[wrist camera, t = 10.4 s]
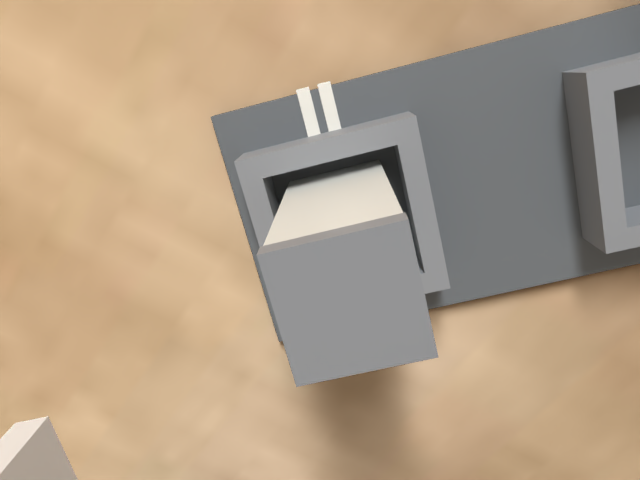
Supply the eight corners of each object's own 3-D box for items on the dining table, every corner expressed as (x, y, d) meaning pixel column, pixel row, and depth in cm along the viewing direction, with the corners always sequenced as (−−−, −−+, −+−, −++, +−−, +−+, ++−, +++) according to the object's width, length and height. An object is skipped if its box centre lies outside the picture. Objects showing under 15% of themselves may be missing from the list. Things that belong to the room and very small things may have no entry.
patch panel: (212, 111, 27) (196, 117, 24) (761, -34, 24) (820, -48, 21) (280, 336, 30) (274, 366, 27) (767, 230, 27) (819, 249, 24)
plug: (288, 180, 27) (256, 255, 16) (379, 158, 26) (408, 219, 16) (316, 283, 28) (304, 412, 18) (403, 263, 28) (443, 383, 17)
